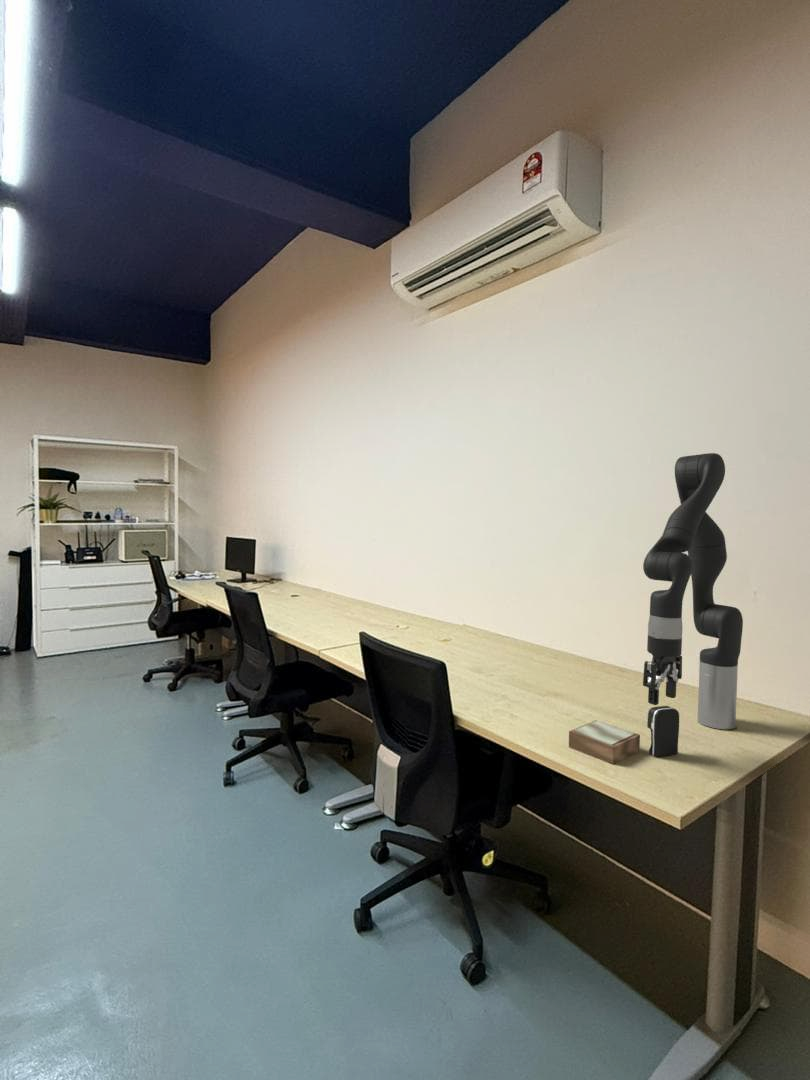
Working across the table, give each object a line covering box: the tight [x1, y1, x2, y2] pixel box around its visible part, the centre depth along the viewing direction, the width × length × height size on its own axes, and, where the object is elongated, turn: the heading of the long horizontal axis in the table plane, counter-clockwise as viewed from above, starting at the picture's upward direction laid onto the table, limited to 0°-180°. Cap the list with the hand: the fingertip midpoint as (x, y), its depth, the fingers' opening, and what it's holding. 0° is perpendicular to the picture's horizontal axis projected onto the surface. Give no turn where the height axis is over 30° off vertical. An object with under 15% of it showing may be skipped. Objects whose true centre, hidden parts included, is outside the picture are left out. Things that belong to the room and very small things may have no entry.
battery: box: [646, 705, 680, 758], centre depth 134 cm, size 7×4×11 cm, turn 106°
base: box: [568, 719, 641, 765], centre depth 136 cm, size 12×12×4 cm
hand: (662, 700), depth 134 cm, fingers open, 8 cm apart
